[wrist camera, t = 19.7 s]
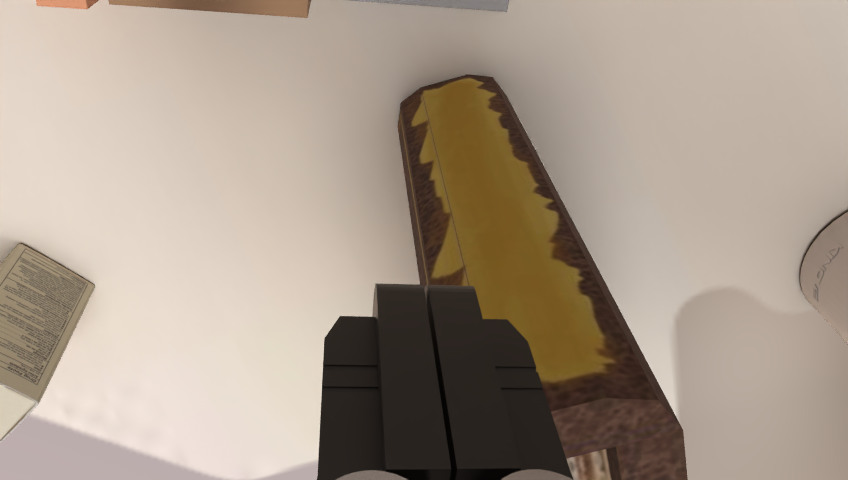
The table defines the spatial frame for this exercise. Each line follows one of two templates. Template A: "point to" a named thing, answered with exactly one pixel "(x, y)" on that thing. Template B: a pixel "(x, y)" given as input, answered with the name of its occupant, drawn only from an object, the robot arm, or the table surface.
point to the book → (532, 276)
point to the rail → (465, 0)
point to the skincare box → (34, 328)
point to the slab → (230, 6)
